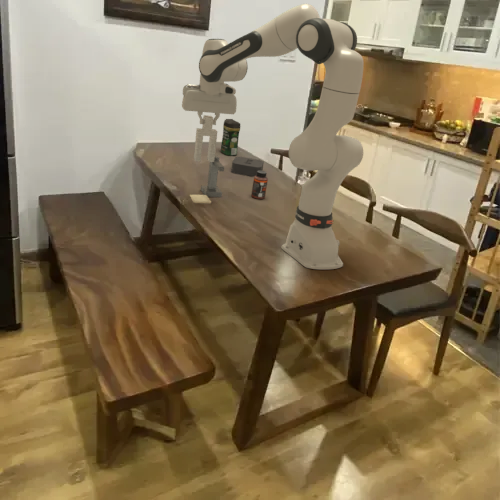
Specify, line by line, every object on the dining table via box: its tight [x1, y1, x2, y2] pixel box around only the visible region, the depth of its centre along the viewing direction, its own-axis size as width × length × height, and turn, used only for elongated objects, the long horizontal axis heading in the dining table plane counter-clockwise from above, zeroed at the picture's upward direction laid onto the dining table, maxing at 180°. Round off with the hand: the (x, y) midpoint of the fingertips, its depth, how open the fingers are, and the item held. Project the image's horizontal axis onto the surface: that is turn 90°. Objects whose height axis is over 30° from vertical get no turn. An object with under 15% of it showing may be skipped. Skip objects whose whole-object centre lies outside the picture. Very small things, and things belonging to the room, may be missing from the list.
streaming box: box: [230, 156, 265, 178], centre depth 241 cm, size 14×14×5 cm
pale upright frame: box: [193, 114, 218, 163], centre depth 186 cm, size 3×7×17 cm, turn 109°
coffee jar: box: [220, 118, 241, 157], centre depth 264 cm, size 10×8×19 cm
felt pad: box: [189, 194, 212, 204], centre depth 196 cm, size 8×7×1 cm
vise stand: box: [200, 154, 225, 198], centre depth 199 cm, size 15×7×16 cm, turn 19°
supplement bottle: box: [251, 170, 269, 200], centre depth 207 cm, size 6×6×11 cm
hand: (207, 124), depth 184 cm, fingers closed on pale upright frame, 3 cm apart
